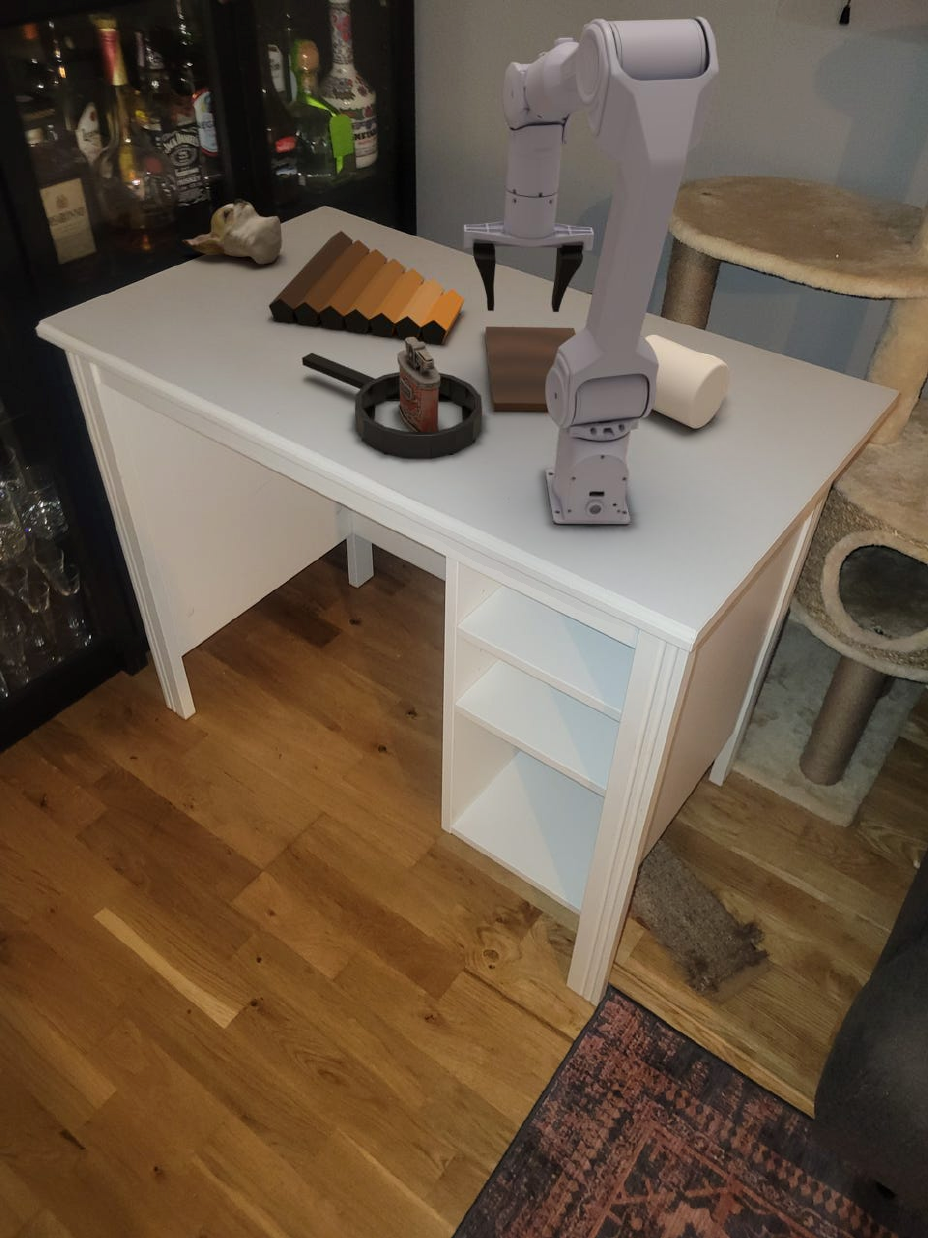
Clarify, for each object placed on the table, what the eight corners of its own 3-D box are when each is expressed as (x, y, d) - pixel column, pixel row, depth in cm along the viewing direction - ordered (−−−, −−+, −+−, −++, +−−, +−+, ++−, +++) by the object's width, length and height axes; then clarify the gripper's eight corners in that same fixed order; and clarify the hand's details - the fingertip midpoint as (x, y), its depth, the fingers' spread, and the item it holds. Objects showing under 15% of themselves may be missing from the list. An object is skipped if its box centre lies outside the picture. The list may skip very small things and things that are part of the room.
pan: (483, 458, 107) (484, 435, 105) (289, 457, 106) (287, 433, 104) (476, 376, 121) (477, 354, 119) (305, 374, 120) (303, 352, 118)
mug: (684, 439, 112) (698, 377, 106) (616, 406, 116) (626, 346, 111) (739, 403, 118) (755, 343, 113) (673, 374, 123) (685, 315, 118)
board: (592, 412, 115) (593, 403, 114) (493, 411, 115) (493, 402, 114) (572, 335, 130) (573, 327, 129) (485, 334, 129) (485, 326, 129)
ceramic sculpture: (253, 216, 134) (171, 202, 140) (263, 277, 140) (183, 261, 145) (297, 194, 141) (217, 182, 147) (304, 253, 147) (227, 239, 152)
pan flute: (331, 251, 148) (270, 320, 130) (330, 229, 146) (267, 296, 128) (487, 271, 144) (446, 345, 127) (488, 249, 142) (446, 321, 124)
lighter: (392, 409, 114) (390, 331, 107) (418, 404, 115) (418, 326, 108) (418, 444, 109) (418, 364, 102) (445, 438, 110) (447, 358, 103)
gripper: (593, 177, 107) (579, 294, 116) (464, 174, 106) (460, 291, 115) (601, 199, 102) (586, 320, 111) (465, 196, 101) (462, 317, 110)
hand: (522, 307), depth 113 cm, fingers open, 7 cm apart
